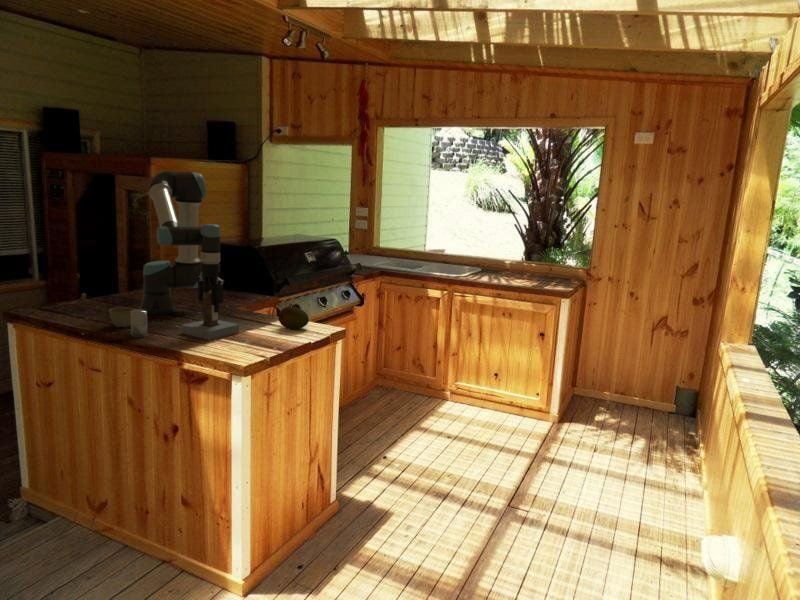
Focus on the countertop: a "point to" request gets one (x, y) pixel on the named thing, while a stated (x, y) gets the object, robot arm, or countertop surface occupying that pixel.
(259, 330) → the countertop surface
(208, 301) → the wooden square peg
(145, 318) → the round bit
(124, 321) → the flower pot
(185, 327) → the socket plate
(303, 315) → the fruit
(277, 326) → the countertop surface
